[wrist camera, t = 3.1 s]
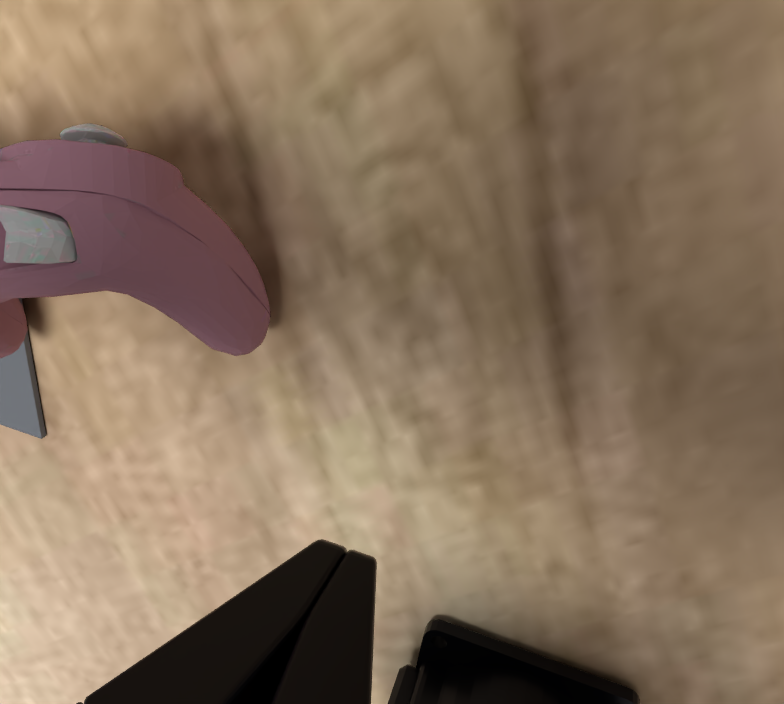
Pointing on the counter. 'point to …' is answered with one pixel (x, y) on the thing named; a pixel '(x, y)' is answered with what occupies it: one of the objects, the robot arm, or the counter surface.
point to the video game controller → (120, 239)
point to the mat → (20, 392)
